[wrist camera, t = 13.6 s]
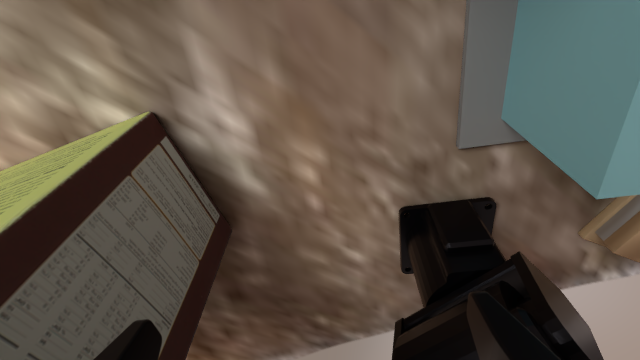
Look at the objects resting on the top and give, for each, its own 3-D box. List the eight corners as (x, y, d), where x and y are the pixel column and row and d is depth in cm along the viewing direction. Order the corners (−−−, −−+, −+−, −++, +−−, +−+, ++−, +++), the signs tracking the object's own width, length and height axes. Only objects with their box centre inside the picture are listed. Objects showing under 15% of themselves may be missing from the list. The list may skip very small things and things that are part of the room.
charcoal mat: (574, 129, 20) (580, 133, 19) (456, 145, 21) (458, 148, 20) (658, -170, 13) (669, -175, 13) (476, -132, 14) (481, -135, 13)
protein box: (-30, 181, 23) (-504, 461, 10) (153, 107, 20) (-191, 376, 7) (79, 277, 28) (-137, 544, 15) (236, 231, 25) (137, 518, 12)
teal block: (595, -116, 13) (862, -203, 7) (544, 112, 19) (666, 191, 12) (533, -104, 14) (732, -177, 7) (501, 118, 19) (596, 199, 12)
